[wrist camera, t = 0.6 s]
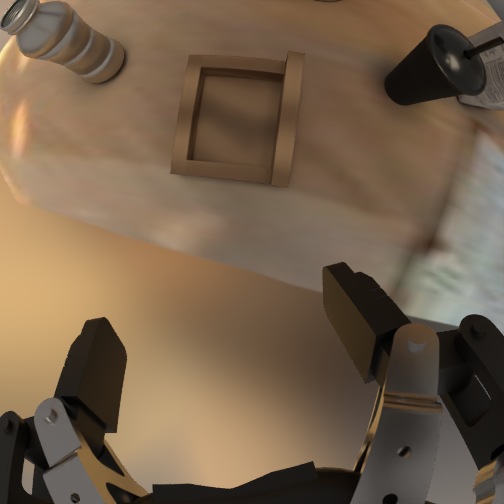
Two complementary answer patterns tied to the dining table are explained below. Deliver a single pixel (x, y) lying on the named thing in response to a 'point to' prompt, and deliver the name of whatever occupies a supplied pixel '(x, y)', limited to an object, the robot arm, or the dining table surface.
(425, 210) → the dining table surface
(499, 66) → the juice carton
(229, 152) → the drawer
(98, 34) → the plastic bottle
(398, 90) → the drinking cup
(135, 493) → the robot arm
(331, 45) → the dining table surface
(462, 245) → the dining table surface
